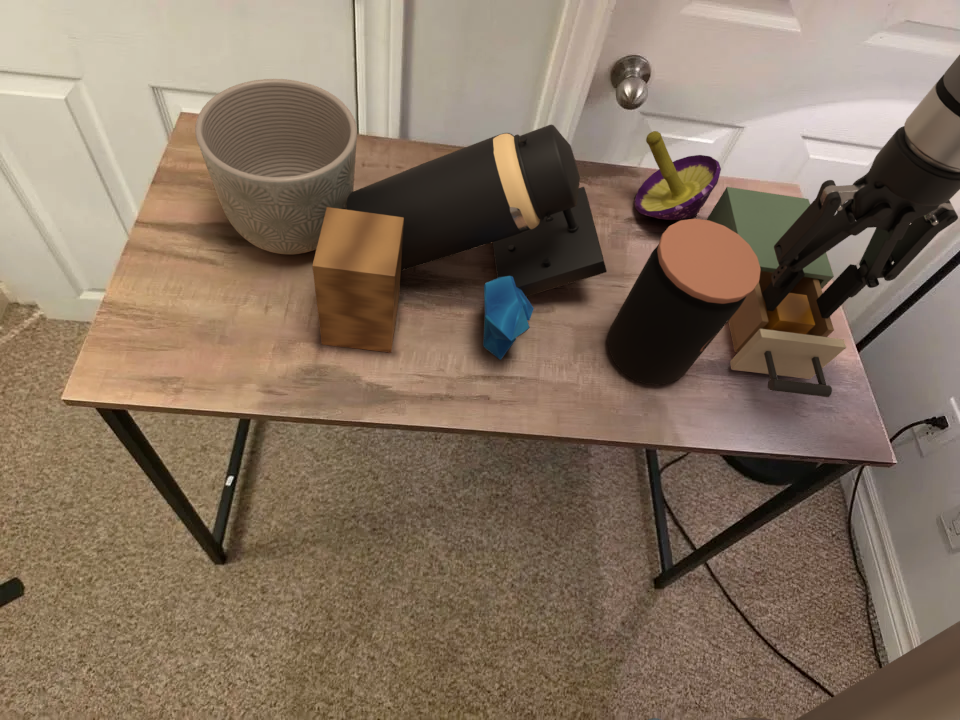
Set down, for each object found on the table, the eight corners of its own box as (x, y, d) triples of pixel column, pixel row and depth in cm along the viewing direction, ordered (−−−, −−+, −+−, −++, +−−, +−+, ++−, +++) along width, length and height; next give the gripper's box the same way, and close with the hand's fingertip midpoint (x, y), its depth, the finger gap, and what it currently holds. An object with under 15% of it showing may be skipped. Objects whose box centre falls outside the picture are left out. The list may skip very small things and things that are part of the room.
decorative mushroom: (696, 137, 77) (736, 230, 85) (698, 89, 85) (734, 178, 93) (603, 176, 84) (648, 258, 92) (612, 128, 92) (653, 208, 100)
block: (780, 323, 82) (806, 294, 77) (787, 352, 80) (815, 324, 75) (747, 318, 82) (772, 290, 77) (753, 347, 79) (779, 320, 74)
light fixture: (347, 165, 76) (553, 85, 69) (411, 257, 90) (588, 198, 83) (342, 244, 69) (573, 163, 62) (413, 330, 83) (607, 272, 76)
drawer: (820, 416, 77) (859, 386, 71) (738, 406, 76) (770, 375, 70) (788, 300, 86) (820, 265, 80) (715, 290, 85) (742, 254, 79)
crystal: (542, 266, 76) (561, 333, 68) (512, 318, 82) (525, 386, 73) (486, 249, 74) (498, 316, 65) (458, 304, 79) (466, 373, 71)
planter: (237, 171, 85) (214, 68, 73) (365, 186, 87) (364, 88, 75) (208, 268, 76) (176, 170, 64) (351, 282, 78) (347, 189, 66)
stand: (399, 298, 78) (404, 217, 66) (391, 352, 74) (395, 276, 62) (333, 290, 77) (326, 206, 66) (321, 344, 73) (312, 265, 61)
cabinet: (793, 319, 86) (834, 276, 78) (711, 308, 85) (745, 264, 77) (772, 244, 93) (808, 198, 85) (697, 233, 92) (726, 186, 84)
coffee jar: (687, 398, 76) (765, 309, 61) (601, 378, 76) (658, 284, 61) (686, 327, 82) (757, 231, 67) (607, 309, 82) (660, 208, 67)
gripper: (1019, 136, 60) (860, 291, 79) (829, 103, 58) (713, 271, 77) (1055, 190, 55) (878, 341, 74) (852, 157, 53) (723, 320, 72)
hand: (795, 305), depth 76 cm, fingers open, 6 cm apart
